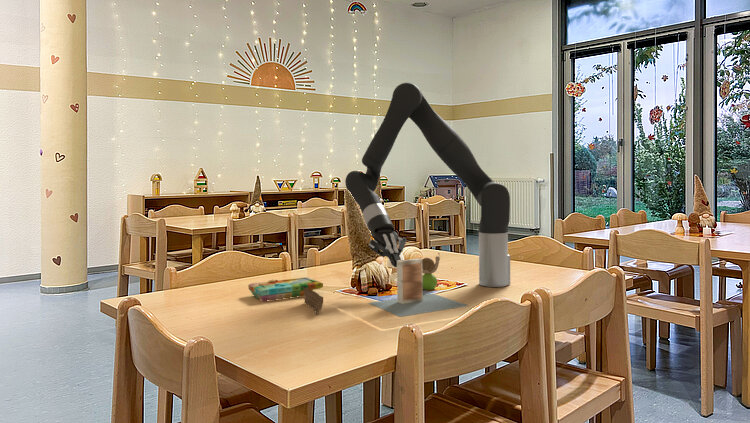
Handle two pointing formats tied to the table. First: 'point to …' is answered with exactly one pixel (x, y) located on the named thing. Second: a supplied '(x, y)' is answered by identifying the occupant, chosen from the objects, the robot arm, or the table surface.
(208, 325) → the table surface
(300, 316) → the table surface
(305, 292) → the wood plank
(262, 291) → the puzzle game
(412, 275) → the picture domino
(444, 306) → the felt mat
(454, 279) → the table surface
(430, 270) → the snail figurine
